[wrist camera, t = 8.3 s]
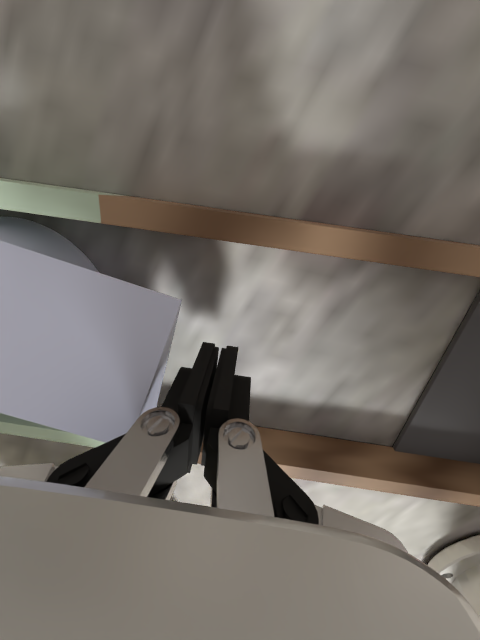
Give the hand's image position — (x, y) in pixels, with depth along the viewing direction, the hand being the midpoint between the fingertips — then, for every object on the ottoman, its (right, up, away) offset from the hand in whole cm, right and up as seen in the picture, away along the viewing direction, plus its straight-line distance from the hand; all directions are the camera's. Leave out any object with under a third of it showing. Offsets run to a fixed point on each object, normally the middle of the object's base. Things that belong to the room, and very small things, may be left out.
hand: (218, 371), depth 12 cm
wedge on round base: (-9, +3, +3) cm, 9 cm away
